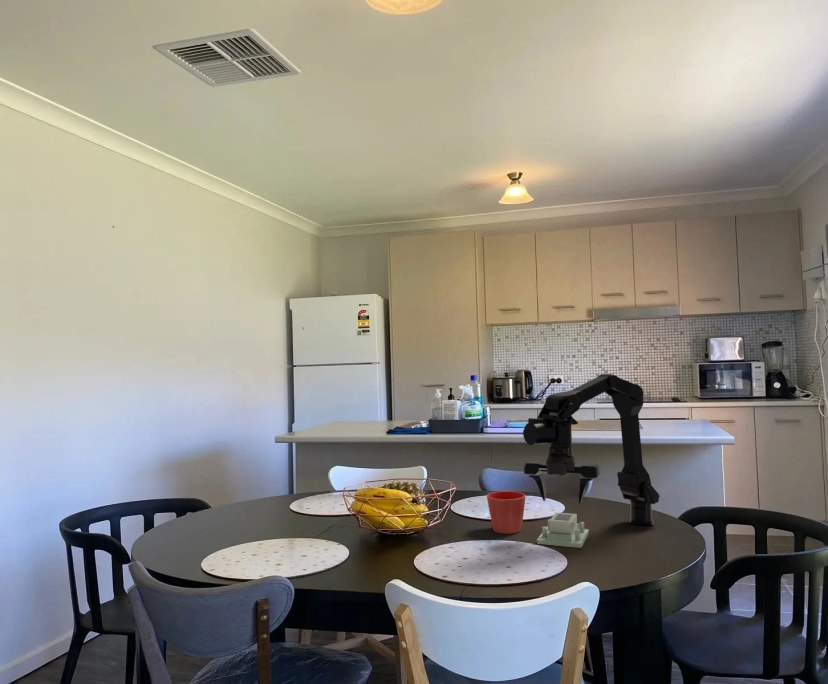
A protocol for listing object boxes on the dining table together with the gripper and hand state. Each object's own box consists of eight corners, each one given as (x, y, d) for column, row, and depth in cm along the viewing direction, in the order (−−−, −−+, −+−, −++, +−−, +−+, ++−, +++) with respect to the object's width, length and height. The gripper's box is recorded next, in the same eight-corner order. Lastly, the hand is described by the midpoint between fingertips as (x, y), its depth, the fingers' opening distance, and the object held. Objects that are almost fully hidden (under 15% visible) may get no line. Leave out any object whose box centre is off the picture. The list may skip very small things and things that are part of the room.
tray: (547, 529, 171) (547, 516, 171) (588, 533, 167) (588, 520, 167) (537, 543, 158) (536, 529, 158) (581, 547, 154) (580, 533, 154)
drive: (556, 529, 168) (555, 512, 168) (577, 531, 166) (576, 513, 166) (549, 538, 160) (549, 520, 160) (571, 540, 157) (571, 521, 158)
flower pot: (481, 532, 169) (480, 497, 170) (495, 523, 179) (494, 489, 179) (519, 537, 164) (518, 500, 165) (531, 527, 174) (530, 492, 174)
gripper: (518, 444, 160) (519, 506, 159) (593, 447, 152) (594, 511, 152) (528, 439, 170) (529, 497, 169) (598, 442, 163) (600, 502, 162)
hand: (562, 502), depth 163 cm, fingers open, 9 cm apart
